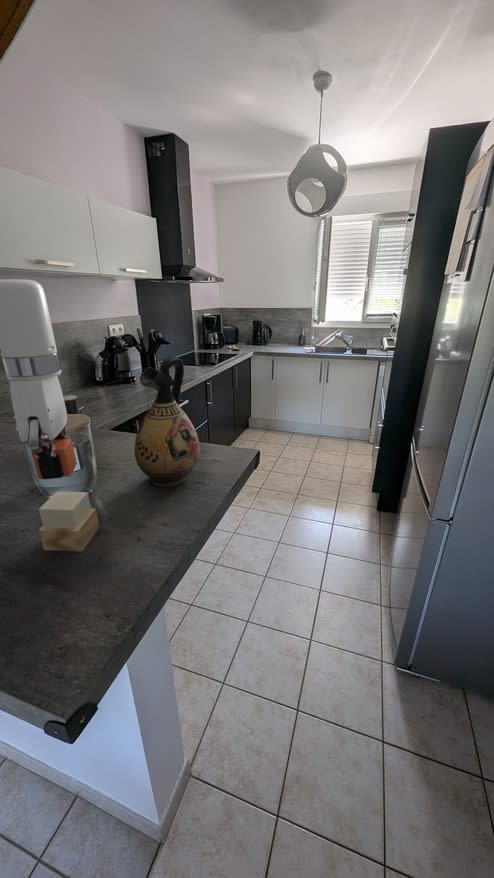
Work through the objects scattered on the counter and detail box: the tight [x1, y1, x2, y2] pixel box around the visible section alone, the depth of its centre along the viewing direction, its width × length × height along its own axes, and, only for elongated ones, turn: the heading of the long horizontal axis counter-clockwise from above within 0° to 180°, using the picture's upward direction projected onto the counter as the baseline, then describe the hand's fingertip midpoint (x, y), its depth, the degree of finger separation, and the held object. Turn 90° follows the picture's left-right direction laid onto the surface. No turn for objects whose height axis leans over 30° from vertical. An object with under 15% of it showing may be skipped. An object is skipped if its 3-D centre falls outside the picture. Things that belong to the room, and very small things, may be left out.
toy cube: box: [30, 439, 77, 480], centre depth 61 cm, size 5×5×5 cm
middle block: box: [38, 491, 92, 529], centre depth 65 cm, size 6×6×4 cm
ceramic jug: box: [134, 356, 201, 488], centre depth 84 cm, size 17×15×30 cm
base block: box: [38, 507, 101, 553], centre depth 67 cm, size 7×7×4 cm
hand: (57, 469), depth 62 cm, fingers closed on toy cube, 5 cm apart
